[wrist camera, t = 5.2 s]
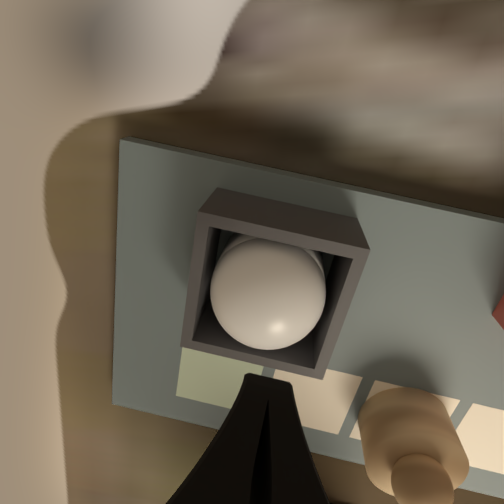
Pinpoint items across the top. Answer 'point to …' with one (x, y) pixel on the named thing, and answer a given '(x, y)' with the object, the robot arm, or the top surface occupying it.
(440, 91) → the top surface
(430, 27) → the top surface
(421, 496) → the pawn
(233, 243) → the dome
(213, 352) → the board
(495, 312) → the die
